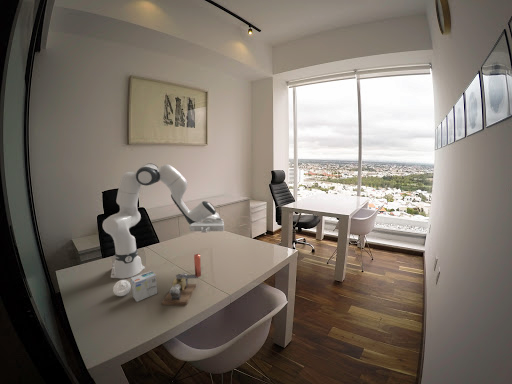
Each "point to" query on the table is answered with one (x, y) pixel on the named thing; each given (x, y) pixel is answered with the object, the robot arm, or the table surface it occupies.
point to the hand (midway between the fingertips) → (203, 231)
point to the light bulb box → (144, 285)
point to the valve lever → (197, 269)
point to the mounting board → (184, 296)
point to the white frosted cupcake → (121, 287)
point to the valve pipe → (178, 287)
